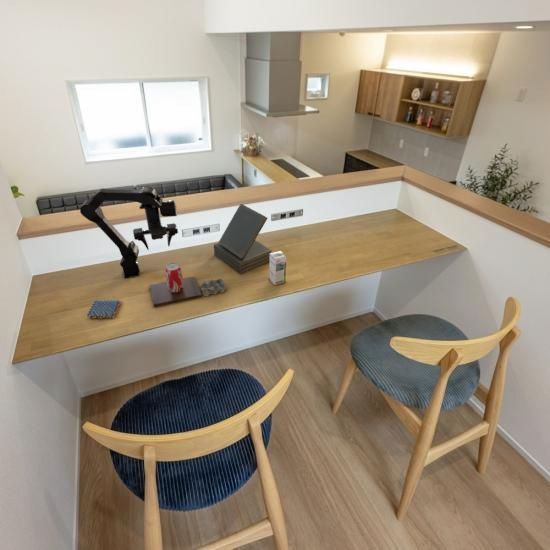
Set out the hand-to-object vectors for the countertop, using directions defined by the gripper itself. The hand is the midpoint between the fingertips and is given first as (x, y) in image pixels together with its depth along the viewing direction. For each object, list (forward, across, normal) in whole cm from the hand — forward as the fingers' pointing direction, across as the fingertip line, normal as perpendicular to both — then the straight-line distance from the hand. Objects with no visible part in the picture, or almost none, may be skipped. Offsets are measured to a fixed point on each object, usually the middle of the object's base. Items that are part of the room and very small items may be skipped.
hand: (158, 247), depth 167 cm
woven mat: (+13, -26, -22) cm, 37 cm away
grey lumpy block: (+13, +19, -23) cm, 33 cm away
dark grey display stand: (+13, +40, -1) cm, 42 cm away
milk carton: (+13, +49, -26) cm, 57 cm away
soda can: (+12, +4, -19) cm, 22 cm away
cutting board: (+13, +3, -19) cm, 23 cm away
